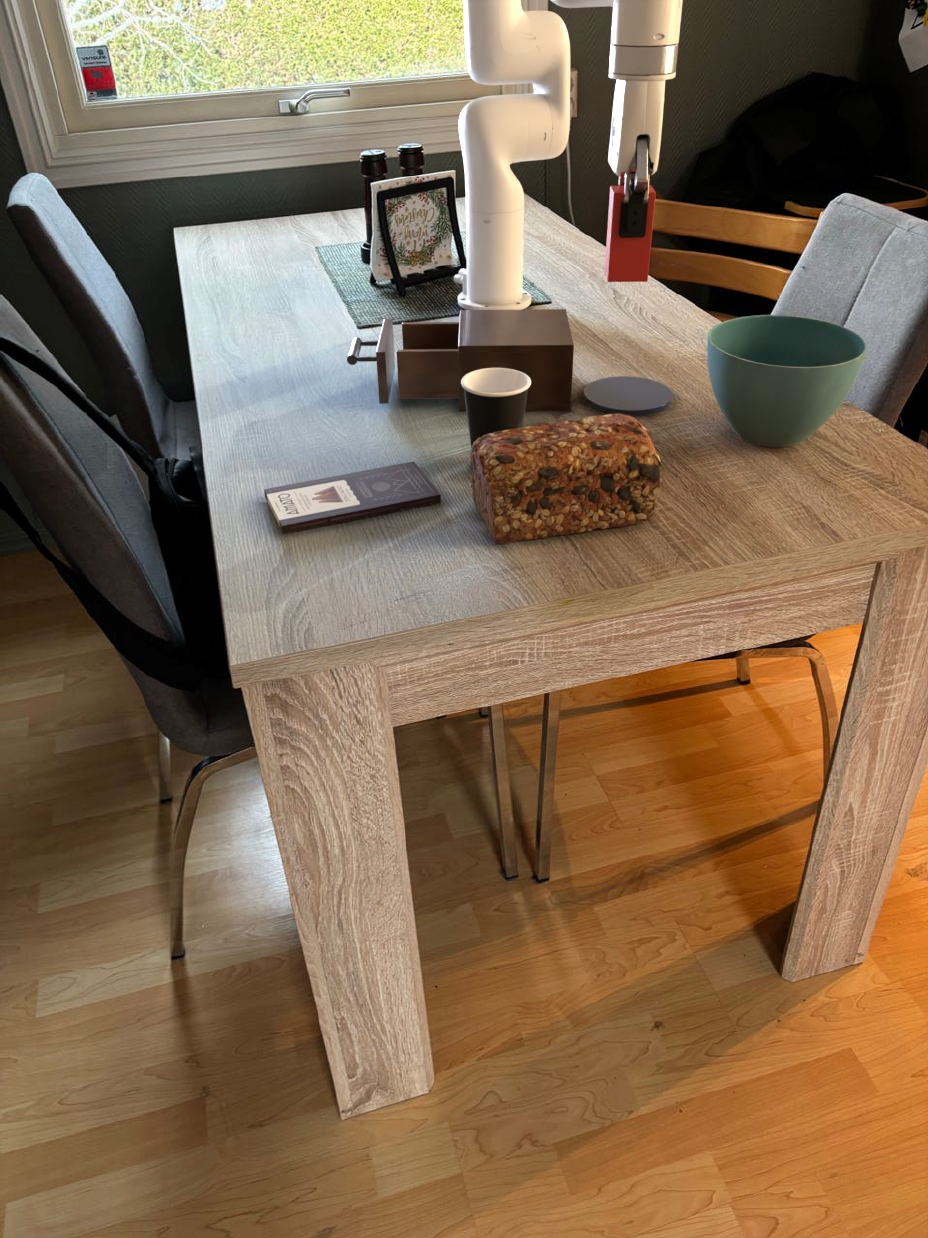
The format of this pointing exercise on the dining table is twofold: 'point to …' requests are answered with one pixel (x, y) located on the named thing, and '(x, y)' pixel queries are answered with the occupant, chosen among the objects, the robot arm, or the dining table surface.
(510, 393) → the dixie cup
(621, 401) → the plate
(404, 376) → the drawer
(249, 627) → the dining table surface
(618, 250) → the red rectangular block
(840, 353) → the green bowl
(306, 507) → the chocolate bar
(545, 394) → the cabinet
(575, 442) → the bread
